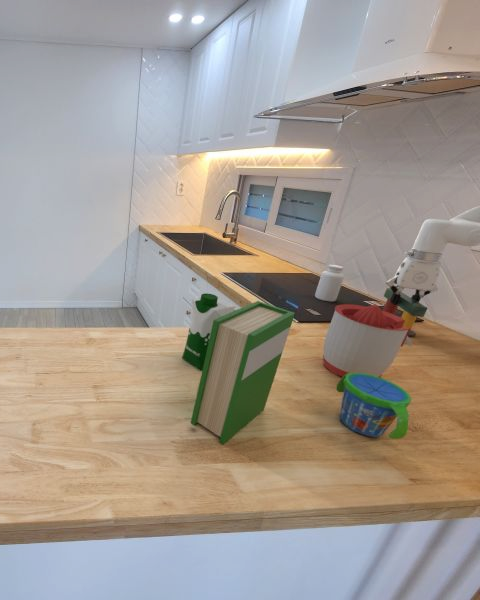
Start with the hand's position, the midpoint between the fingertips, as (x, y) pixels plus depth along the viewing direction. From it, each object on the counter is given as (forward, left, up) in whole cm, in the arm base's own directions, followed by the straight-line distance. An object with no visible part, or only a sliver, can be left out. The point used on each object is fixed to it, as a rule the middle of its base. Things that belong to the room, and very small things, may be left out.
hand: (402, 304), depth 121 cm
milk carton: (+68, +57, -9) cm, 89 cm away
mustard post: (0, +6, -8) cm, 10 cm away
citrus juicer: (+28, +45, -9) cm, 54 cm away
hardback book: (+62, +78, -9) cm, 100 cm away
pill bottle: (+16, -22, -9) cm, 29 cm away
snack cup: (+35, +70, -9) cm, 79 cm away
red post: (0, -6, -8) cm, 10 cm away
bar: (0, 0, 0) cm, 0 cm away
